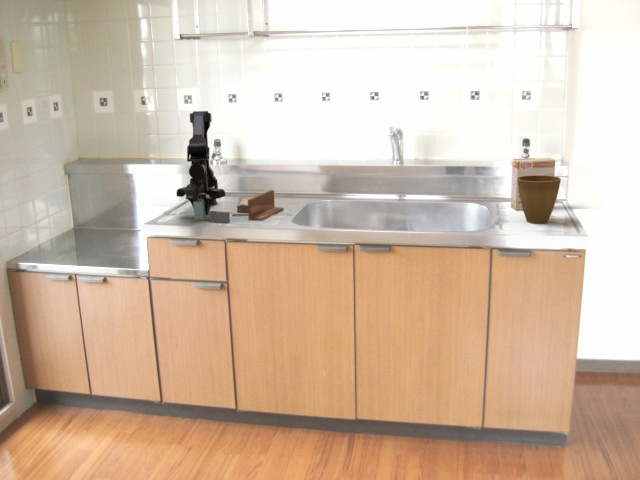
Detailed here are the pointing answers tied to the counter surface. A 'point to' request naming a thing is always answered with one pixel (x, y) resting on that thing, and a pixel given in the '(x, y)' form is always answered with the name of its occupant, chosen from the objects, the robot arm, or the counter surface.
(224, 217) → the block
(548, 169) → the coffeecake box
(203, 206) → the pale teal block
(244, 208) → the packaged product
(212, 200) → the robot arm
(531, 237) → the counter surface
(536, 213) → the plant pot
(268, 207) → the walnut bookend
